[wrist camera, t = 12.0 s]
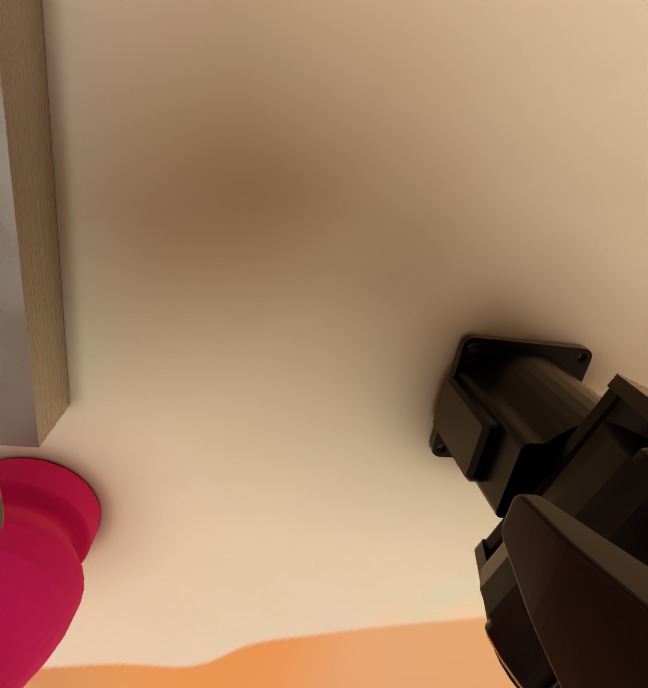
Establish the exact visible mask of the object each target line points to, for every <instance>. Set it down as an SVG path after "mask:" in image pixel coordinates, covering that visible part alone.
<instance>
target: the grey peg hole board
mask: <svg viewBox="0 0 648 688" xmlns="http://www.w3.org/2000/svg"><path fill="white" fill-rule="evenodd" d="M69 405H70V404H69V390H68V376H67V361H66V347H65V333H64V318H63V304H62V290H61V275H60V261H59V247H58V233H57V218H56V204H55V190H54V175H53V161H52V147H51V132H50V118H49V104H48V89H47V75H46V61H45V47H44V32H43V18H42V4H41V0H0V445H6V446H26V447H40V445H41V444H42V443H43V441H44V440H45V438H46V437H47V436H48V434H49V433H50V431H51V430H52V429H53V427H54V426H55V424H56V423H57V422H58V420H59V419H60V417H61V416H62V415H63V413H64V412H65V410H66V409H67V408H68V406H69Z"/></svg>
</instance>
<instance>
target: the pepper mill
mask: <svg viewBox="0 0 648 688" xmlns="http://www.w3.org/2000/svg"><path fill="white" fill-rule="evenodd" d="M0 490H1V497H2V503H3V510H4V521H3V525H2V528H1V531H0V688H23V687H24V686H25V685H26V683H27V682H28V681H29V680H30V679H31V678H32V677H33V676H34V675H35V673H37V672H38V670H39V669H40V668H41V667H42V666H43V665H44V664H45V662H46V661H47V660H48V658H49V657H50V656H51V654H52V653H53V651H54V650H55V649H56V647H57V646H58V644H59V643H60V642H61V640H62V639H63V637H64V636H65V634H66V632H67V630H68V628H69V626H70V623H71V621H72V619H73V617H74V615H75V613H76V611H77V609H78V607H79V605H80V603H81V599H82V595H83V591H84V575H83V568H82V565H81V563H82V562H83V561H84V559H85V558H86V556H87V554H88V551H89V549H90V547H91V544H92V542H93V540H94V537H95V535H96V533H97V530H98V527H99V524H100V519H101V513H100V507H99V503H98V501H97V499H96V497H95V495H94V493H93V491H92V490H91V489H90V488H89V487H88V485H87V484H86V483H85V482H84V481H83V480H82V479H80V478H79V477H78V476H76V475H75V474H73V473H72V472H70V471H69V470H67V469H66V468H63V467H60V466H58V465H55V464H52V463H49V462H47V461H43V460H35V459H27V458H17V459H4V460H0Z"/></svg>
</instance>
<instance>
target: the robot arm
mask: <svg viewBox="0 0 648 688" xmlns="http://www.w3.org/2000/svg"><path fill="white" fill-rule="evenodd" d="M471 343H475V346H474V347H473V348H472V349H468V347H469V345H470V344H471ZM580 354H581V357H580V358H578V359H577V357H578V356H579V355H580ZM591 358H592V353H591V352H590V350H588V349H587V348H585V347H584V346H581V345H572V344H563V343H553V342H543V341H534V340H524V339H515V338H505V337H496V336H486V335H477V334H469V335H467V336H465V337H464V338H463V339H462V340H461V342H460V344H459V347H458V350H457V354H456V357H455V360H454V364H453V367H452V371H451V374H450V376H449V377H448V378H447V379H446V380H445V383H444V387H443V390H442V394H441V397H440V400H439V404H438V407H437V411H436V414H435V417H434V421H433V424H434V426H435V427H434V431H433V434H432V438H431V441H430V448H431V450H432V452H433V454H434V455H436V456H439V457H453V458H454V459H455V461H456V463H457V464H458V466H459V468H460V469H461V471H462V473H463V475H464V476H465V477H466V479H467V480H468V481H469V482H476V483H477V485H478V487H479V488H480V490H481V491H482V493H483V495H484V496H485V498H486V499H487V501H488V503H489V504H490V506H491V507H492V509H493V511H494V512H495V514H496V515H497V517H500V518H503V519H502V521H501V522H500V523H499V524H498V525H497V527H496V528H495V529H494V530H493V532H492V533H491V534H490V535H489V537H488V538H487V539H483V540H482V541H481V542H480V543H479V544H478V546H477V547H476V548H475V555H476V561H477V566H478V572H479V578H480V590H481V594H482V597H483V600H484V605H485V611H486V616H487V623H486V624H485V629H486V633H487V637H488V639H489V641H490V643H491V644H492V646H493V648H494V650H495V653H496V655H497V657H498V659H499V662H500V663H501V665H502V667H503V668H504V670H505V672H506V673H507V675H508V676H509V678H510V679H511V681H512V682H513V683H514V685H515V686H516V687H517V688H648V389H647V388H645V387H643V386H641V385H639V384H637V383H635V382H633V381H631V380H629V379H627V378H625V377H623V376H621V375H619V374H616V375H615V377H614V378H613V379H612V380H611V382H610V383H609V384H608V385H607V386H608V387H609V389H608V390H607V392H606V393H605V394H604V395H603V397H602V398H601V397H600V396H599V395H598V394H596V393H595V392H594V391H592V390H591V389H590V388H588V387H587V386H586V385H584V384H583V383H582V380H583V377H584V375H585V373H586V370H587V368H588V366H589V363H590V361H591ZM441 444H444V445H443V446H442V447H440V448H438V446H439V445H441ZM3 521H4V510H3V503H2V497H1V490H0V531H1V528H2V525H3Z"/></svg>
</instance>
